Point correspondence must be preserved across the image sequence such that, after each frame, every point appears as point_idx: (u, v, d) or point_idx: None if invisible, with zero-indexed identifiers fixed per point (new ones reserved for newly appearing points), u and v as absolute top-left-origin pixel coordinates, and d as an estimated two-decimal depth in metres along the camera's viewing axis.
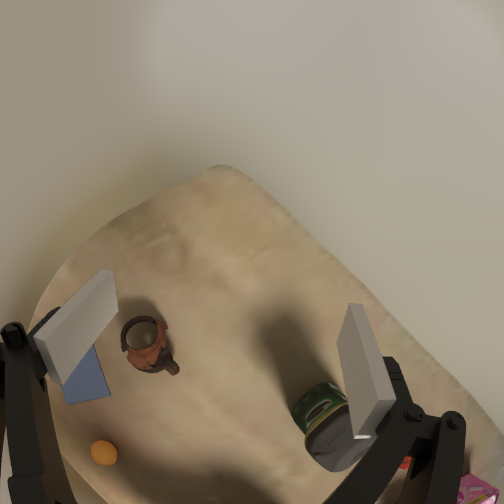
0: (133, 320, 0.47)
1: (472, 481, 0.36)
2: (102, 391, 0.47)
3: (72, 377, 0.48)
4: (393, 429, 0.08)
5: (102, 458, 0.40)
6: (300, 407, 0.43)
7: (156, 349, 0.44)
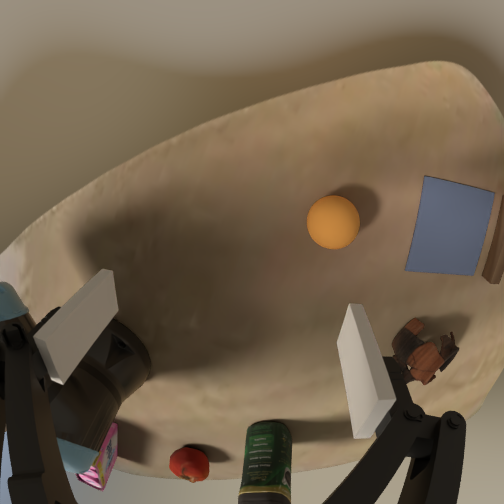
0: (455, 355, 0.34)
1: (113, 465, 0.58)
2: (415, 260, 0.33)
3: (453, 215, 0.31)
4: (393, 429, 0.08)
5: (334, 239, 0.28)
6: (286, 445, 0.43)
7: (420, 379, 0.34)
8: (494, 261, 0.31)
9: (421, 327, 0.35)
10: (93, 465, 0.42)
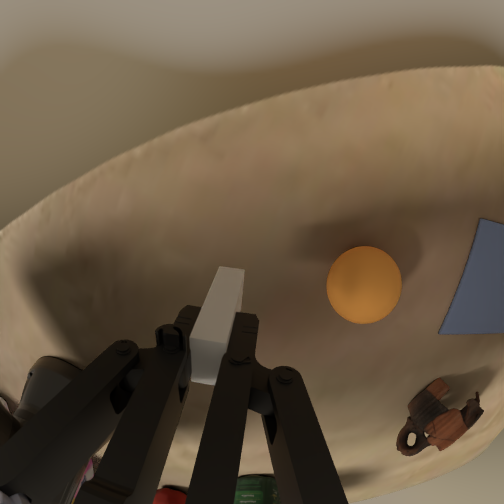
0: None
1: None
2: (452, 321, 0.24)
3: (503, 267, 0.21)
4: (225, 378, 0.10)
5: (367, 316, 0.18)
6: (277, 501, 0.34)
7: (436, 445, 0.25)
8: None
9: (446, 390, 0.25)
10: None
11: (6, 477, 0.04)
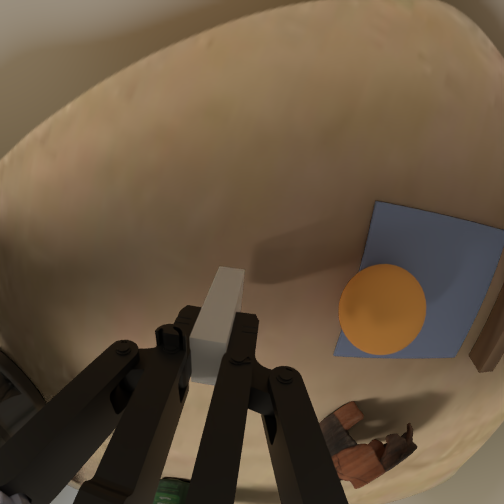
0: None
1: None
2: None
3: (429, 272, 0.18)
4: (225, 378, 0.10)
5: None
6: None
7: (350, 481, 0.21)
8: (491, 340, 0.18)
9: (358, 419, 0.22)
10: None
11: (6, 477, 0.04)
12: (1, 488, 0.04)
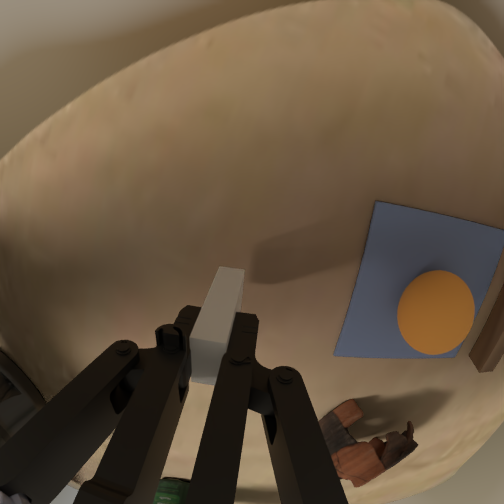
0: None
1: None
2: (352, 341, 0.21)
3: None
4: (225, 378, 0.10)
5: (425, 344, 0.15)
6: None
7: None
8: (491, 340, 0.18)
9: (357, 416, 0.22)
10: None
11: (6, 477, 0.04)
12: (1, 488, 0.04)
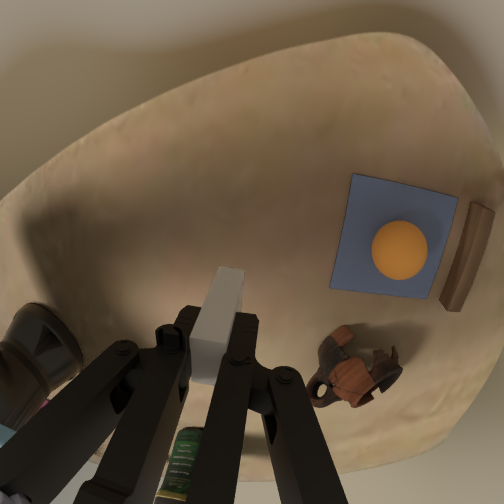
0: (398, 375, 0.30)
1: None
2: (343, 276, 0.30)
3: None
4: (225, 378, 0.10)
5: (390, 267, 0.24)
6: None
7: (347, 400, 0.30)
8: (454, 284, 0.27)
9: (349, 337, 0.31)
10: None
11: (6, 477, 0.04)
12: (1, 488, 0.04)
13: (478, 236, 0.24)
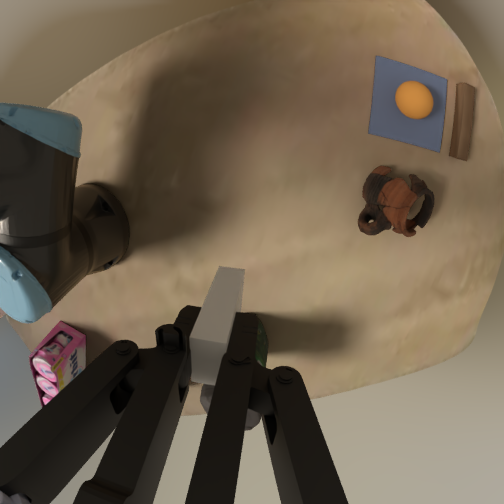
0: (432, 207, 0.36)
1: None
2: (377, 124, 0.36)
3: None
4: (225, 378, 0.10)
5: (410, 102, 0.30)
6: (260, 339, 0.46)
7: (396, 224, 0.36)
8: (457, 137, 0.33)
9: (388, 169, 0.37)
10: (52, 370, 0.45)
11: (6, 477, 0.04)
12: (1, 488, 0.04)
13: (466, 101, 0.30)
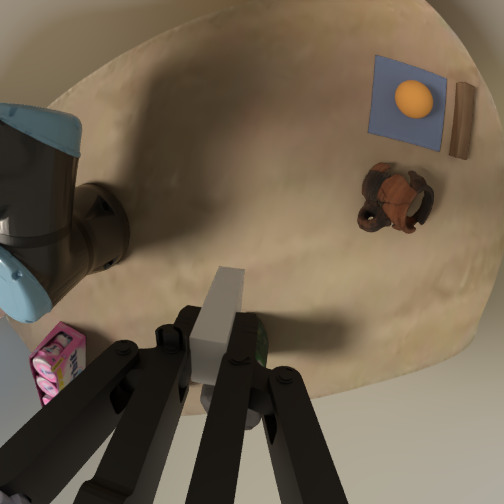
0: (431, 203, 0.36)
1: None
2: (377, 124, 0.36)
3: None
4: (225, 378, 0.10)
5: (410, 101, 0.30)
6: (261, 339, 0.46)
7: (396, 221, 0.36)
8: (457, 137, 0.33)
9: (387, 166, 0.37)
10: (52, 370, 0.45)
11: (6, 477, 0.04)
12: (1, 488, 0.04)
13: (465, 100, 0.30)
